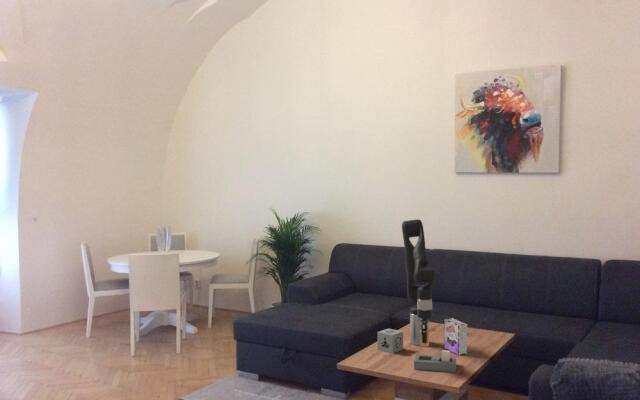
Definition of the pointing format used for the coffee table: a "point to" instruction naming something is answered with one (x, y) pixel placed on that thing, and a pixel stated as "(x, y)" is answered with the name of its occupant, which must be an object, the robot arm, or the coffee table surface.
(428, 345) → the orange plug
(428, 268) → the robot arm
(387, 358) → the coffee table surface
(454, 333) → the candy box
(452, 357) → the grey slotted holder
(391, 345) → the icon cube
